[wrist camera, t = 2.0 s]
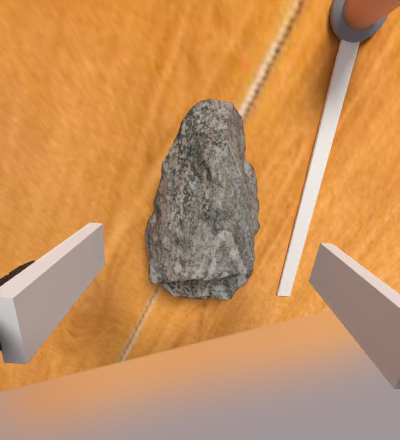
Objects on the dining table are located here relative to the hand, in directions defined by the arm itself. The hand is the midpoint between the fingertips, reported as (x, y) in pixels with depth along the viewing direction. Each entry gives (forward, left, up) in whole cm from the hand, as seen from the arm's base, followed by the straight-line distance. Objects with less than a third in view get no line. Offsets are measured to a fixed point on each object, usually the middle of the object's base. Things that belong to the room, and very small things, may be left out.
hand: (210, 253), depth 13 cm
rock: (0, 0, -10) cm, 10 cm away
